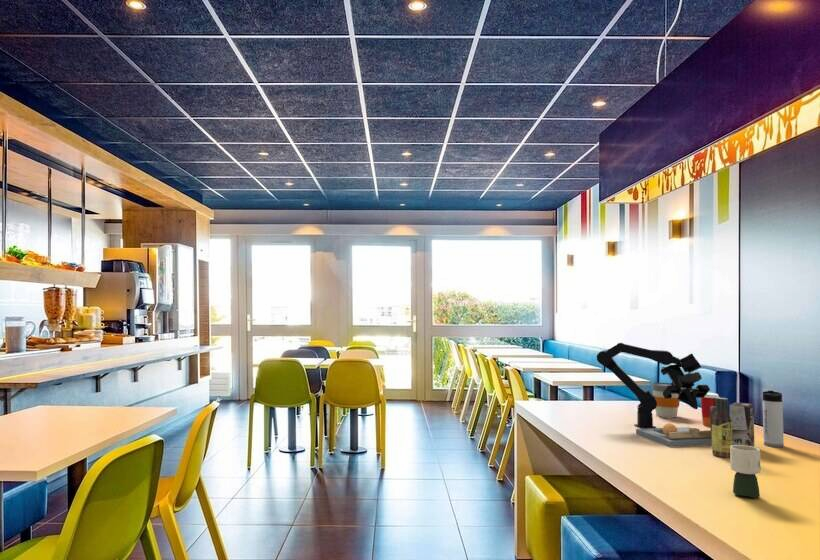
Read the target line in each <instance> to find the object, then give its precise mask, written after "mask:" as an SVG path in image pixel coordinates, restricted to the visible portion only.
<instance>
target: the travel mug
mask: <svg viewBox="0 0 820 560" xmlns="http://www.w3.org/2000/svg"><path fill="white" fill-rule="evenodd" d="M783 405H784V404H783V393H782V392H779V391H775V390H767V391H766V390H765V391H763V392H762V424H763V426H762V427H763V429H762V430H763V445H765V446H766V447H770V446H771V448H783V447H784V446H785V445H784V444H785V443H784V440H785V439H784V415H783V414H784V413H783V411H784V409H783V407H784V406H783Z"/></svg>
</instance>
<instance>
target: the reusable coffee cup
mask: <svg viewBox="0 0 820 560" xmlns="http://www.w3.org/2000/svg"><path fill="white" fill-rule="evenodd" d="M671 383H672V382H653V383H652V384H651V390H652V394H653V395H655V399H656V401H657V407H656V408H655V409H654V410H655V415H656V417H659V416H661V417H660V418H665V417H676V418H678V411H679V407H680V402H681V400H678V399H677V398H678V397H679V396H678V394H671V395H672V397H671V398H667V399H665V398H664V396H663V391H664V390H665V389H666V387H667V386H668V385H671Z"/></svg>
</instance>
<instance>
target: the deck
mask: <svg viewBox="0 0 820 560" xmlns="http://www.w3.org/2000/svg"><path fill="white" fill-rule="evenodd" d="M675 427H676V426H675ZM676 428H677V432H682V431H689V428H691V427H690V426H683V427H682V426H681V427H679V426H677V427H676ZM699 431H701V430H700V429H699ZM635 434H636V435H638V436H640V435H641V436H640V437H643V438H645V437H646V439H648V440H650V439H651V440H650V441H653V440H654V442H656V443H658V442H659V444H661V443H662V444H661V445H663V444H664V445H663V446H666V445H667V446H666V447H669V446H680V447H697V446H699V447H700V446H712V437H700V438H674V439H671V438H668V436H666V435H665V434H664V433H663V427H658V428H657V427H656V428H636V429H635Z"/></svg>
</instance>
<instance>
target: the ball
mask: <svg viewBox="0 0 820 560" xmlns="http://www.w3.org/2000/svg"><path fill="white" fill-rule="evenodd" d="M662 428H663V433H664V434H665V435H666V436H668V435H667V432H677V428H676V425H675V424H674V423H666V424H664V425H663V427H662Z"/></svg>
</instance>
